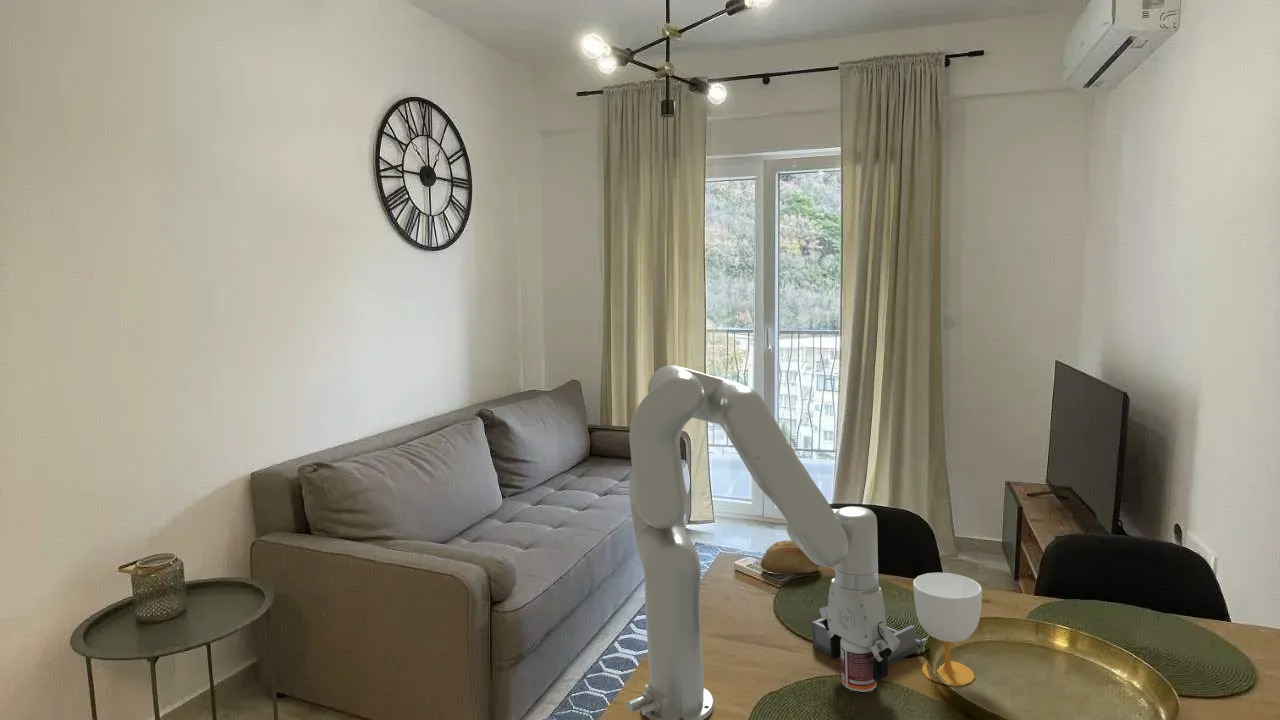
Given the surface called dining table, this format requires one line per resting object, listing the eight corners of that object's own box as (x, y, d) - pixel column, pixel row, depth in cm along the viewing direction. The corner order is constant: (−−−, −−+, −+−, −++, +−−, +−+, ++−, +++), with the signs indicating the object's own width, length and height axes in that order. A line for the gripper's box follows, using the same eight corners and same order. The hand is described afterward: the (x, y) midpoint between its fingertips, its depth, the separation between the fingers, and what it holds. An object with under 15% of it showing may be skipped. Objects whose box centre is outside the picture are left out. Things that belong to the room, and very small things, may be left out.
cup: (941, 696, 130) (940, 603, 128) (901, 664, 141) (899, 578, 139) (997, 683, 133) (997, 592, 131) (953, 652, 144) (952, 568, 142)
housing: (874, 677, 137) (873, 651, 136) (809, 644, 150) (808, 620, 150) (930, 648, 146) (930, 623, 146) (864, 620, 160) (864, 597, 159)
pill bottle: (884, 686, 134) (883, 628, 133) (861, 698, 131) (859, 638, 129) (856, 672, 139) (855, 616, 138) (834, 683, 136) (832, 626, 135)
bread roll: (824, 579, 182) (823, 547, 182) (763, 581, 183) (762, 550, 182) (817, 564, 192) (816, 534, 191) (759, 566, 193) (758, 536, 192)
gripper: (805, 568, 138) (808, 655, 140) (882, 598, 123) (884, 695, 125) (833, 558, 142) (836, 643, 144) (910, 586, 128) (912, 680, 129)
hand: (858, 667), depth 134 cm, fingers open, 9 cm apart
